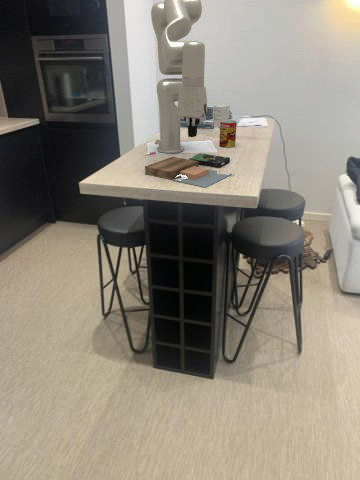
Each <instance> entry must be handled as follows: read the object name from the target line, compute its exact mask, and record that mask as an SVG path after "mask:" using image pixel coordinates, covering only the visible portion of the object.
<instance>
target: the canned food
mask: <svg viewBox="0 0 360 480" xmlns="http://www.w3.org/2000/svg"><path fill="white" fill-rule="evenodd" d="M237 122H238V121H237V120H234V119H229V120H222V121H220V128H219V145H218V146H219V147H220V148H222V149H232V148H235V147H236V141H237Z"/></svg>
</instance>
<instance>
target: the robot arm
mask: <svg viewBox="0 0 360 480" xmlns="http://www.w3.org/2000/svg"><path fill="white" fill-rule="evenodd" d="M202 12H203V7H202V2H201V0H164V1H160V2H156V3H154V4H153V5H152V6H151V10H150V17H151V24H152V27H153V30H154V33H155V36H156V41H157V58H158V61H157V62H158V69H159V72H160V73H161V74H162V75H165V76H182V77H180V78H178V77H174V78H172V77H171V78H163V79H160V80H159V81H158V82H157V84H156V94H157V98H158V99H157V100H158V111H159V113H158V114H159V136H160V137H159V138H160V139H156V140H155V141H154V144H155V145H158V147H157V149H156V150H157V152H160V153H163V154H178V153H182V152H184V150H185V149H184V148H185V147H183V146H182V145H181V120H184V121H185V124H186V126H187V137H189V138H195V137H197V135H198V126H199V124H200V123H202V122H205V121H207V114H208V98H207V96H208V95H207V89H206V86H205V64H206V61H205V60H206V59H205V57H206V53H205V52H206V46H205V43H204V42H202V41H198V40H181V39H183V38H185V37H187V36H188V35H189V33H190V32H191V30H192V27H193V25H194V24H196V23H197V22H198V21H199V20H200V18H201V15H202ZM175 102H177V105H176V103H175Z"/></svg>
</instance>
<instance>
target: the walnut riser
mask: <svg viewBox="0 0 360 480" xmlns="http://www.w3.org/2000/svg"><path fill="white" fill-rule="evenodd" d="M193 166H196V167H200V165H199V161H194V160H189V159H187V158H183V157H178V156H172V157H170V156H169V158H165V159H162V160H160V161H156V162H155V163H151V164H149V165H145V166H144V174H145V175H149V176H152V177H156V178H161V179H167V180H171V181H173V180H175V179H176V178H175V177H176V176H177V175H179V174H180V171H182V170H185V169H187V168H190V167H193Z"/></svg>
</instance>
